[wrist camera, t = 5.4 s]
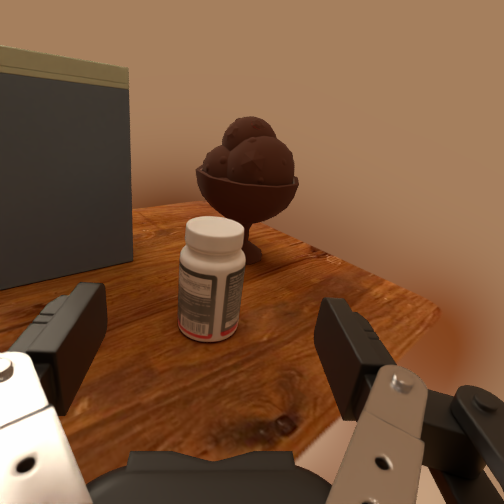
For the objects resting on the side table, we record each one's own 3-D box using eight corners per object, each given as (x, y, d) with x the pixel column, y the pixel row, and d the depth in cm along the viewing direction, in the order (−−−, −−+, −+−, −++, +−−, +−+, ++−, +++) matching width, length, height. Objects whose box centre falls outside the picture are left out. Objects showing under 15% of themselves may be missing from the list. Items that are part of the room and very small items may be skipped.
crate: (-23, 295, 26) (-82, 61, 19) (-38, 245, 32) (-86, 59, 26) (133, 261, 34) (129, 89, 27) (95, 226, 41) (84, 82, 34)
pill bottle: (226, 304, 29) (236, 213, 26) (246, 338, 25) (261, 237, 22) (171, 310, 27) (175, 213, 24) (183, 349, 23) (189, 239, 20)
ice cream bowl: (172, 248, 38) (176, 107, 32) (239, 230, 46) (252, 114, 40) (238, 287, 32) (259, 122, 26) (302, 258, 40) (329, 127, 34)
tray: (-82, 61, 19) (-90, 29, 18) (-86, 59, 26) (-92, 36, 25) (129, 89, 27) (128, 67, 27) (84, 82, 34) (83, 65, 33)
